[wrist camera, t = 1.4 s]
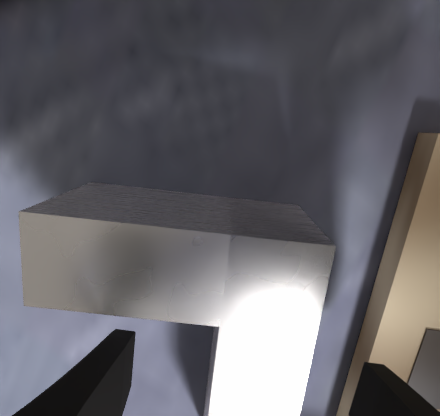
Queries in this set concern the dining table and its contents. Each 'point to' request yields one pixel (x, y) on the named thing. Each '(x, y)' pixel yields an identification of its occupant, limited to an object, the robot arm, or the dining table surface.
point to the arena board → (407, 286)
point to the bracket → (191, 279)
